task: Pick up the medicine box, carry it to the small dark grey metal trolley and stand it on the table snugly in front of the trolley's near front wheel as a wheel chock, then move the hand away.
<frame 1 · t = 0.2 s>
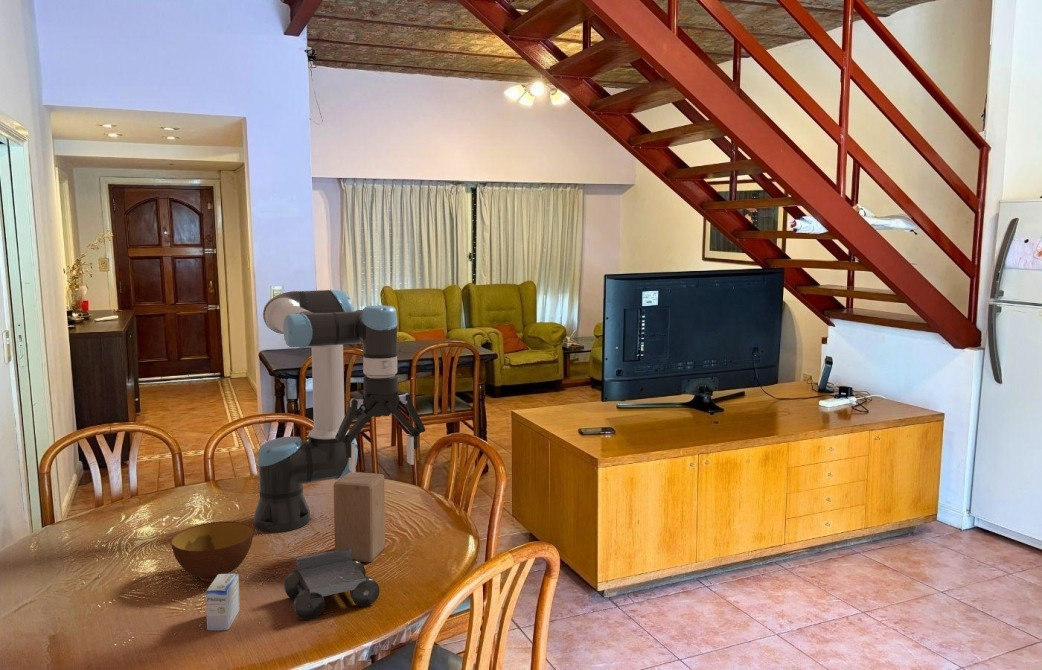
hand: (381, 467, 169), 28 cm above the table, tool pointing down, fingers open, 13 cm apart
bowl: (214, 576, 176), on the table
medicine box: (224, 621, 156), on the table
wooden block: (360, 554, 189), on the table
trolley: (331, 600, 164), on the table
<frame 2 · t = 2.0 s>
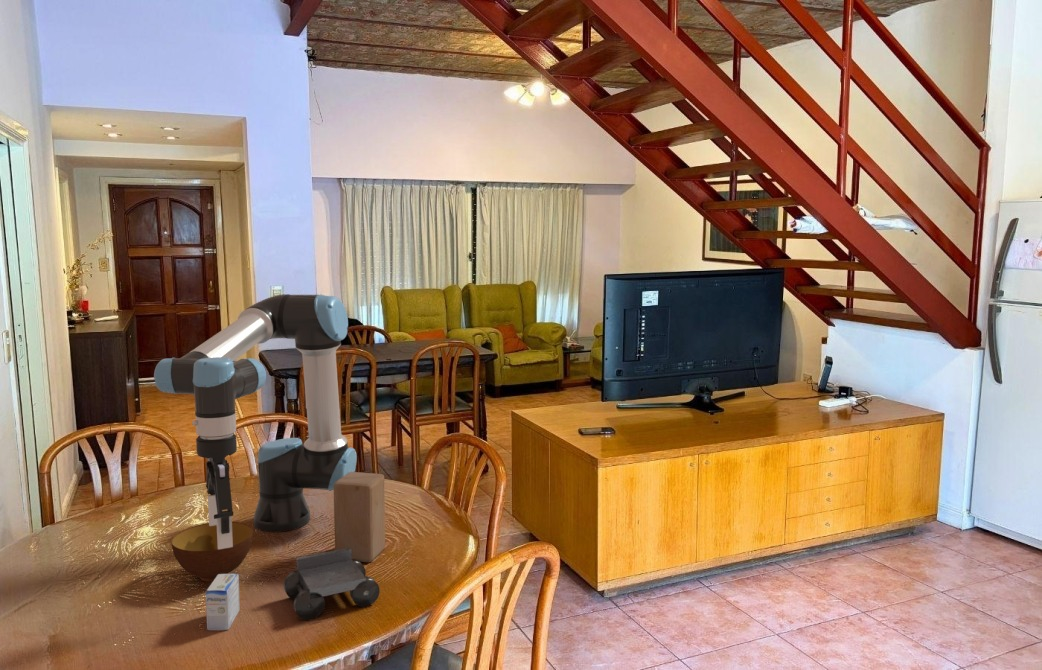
hand: (220, 535, 153), 19 cm above the table, tool pointing down, fingers open, 13 cm apart
nothing on the table moved.
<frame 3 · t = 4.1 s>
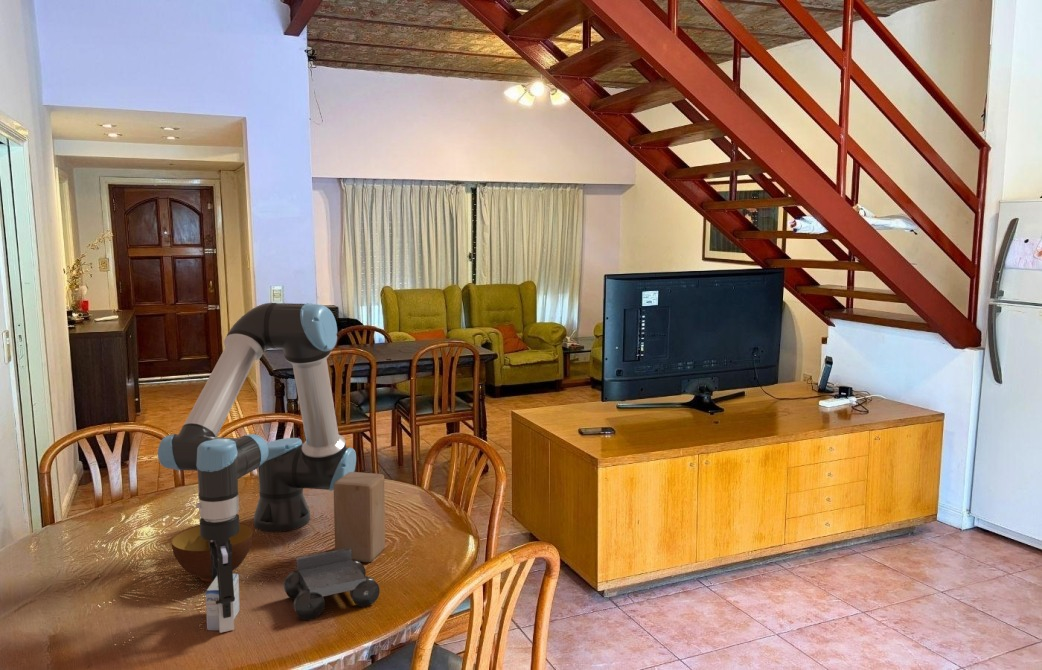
hand: (223, 619, 155), 0 cm above the table, tool pointing down, fingers closed on medicine box, 9 cm apart
medicine box: (224, 621, 156), on the table, touching gripper
everything else where it was.
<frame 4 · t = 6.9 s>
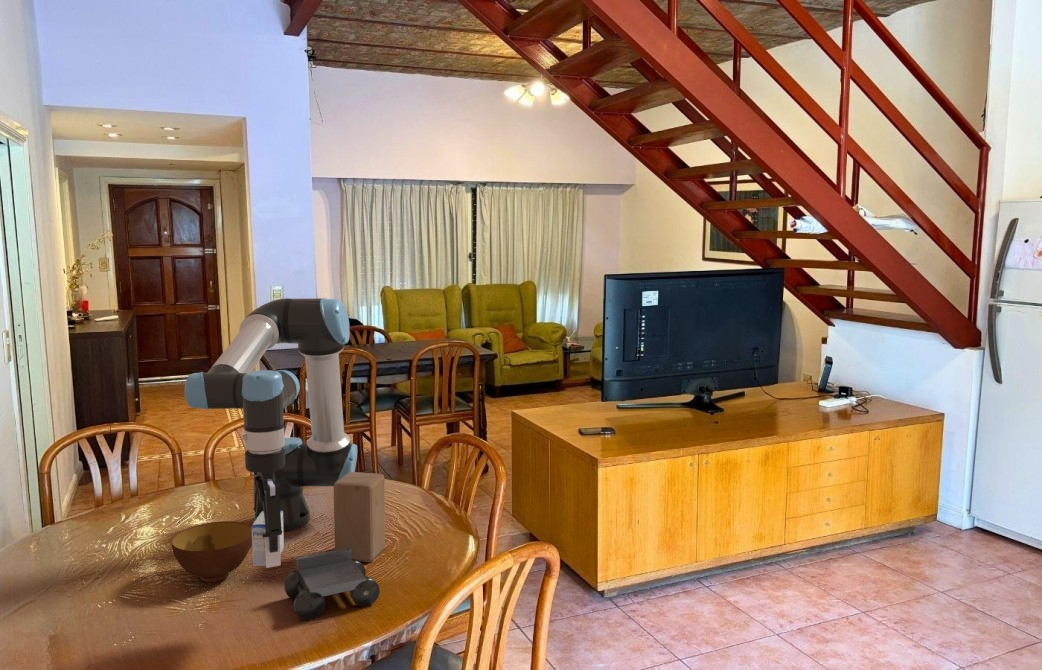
hand: (268, 556, 152), 15 cm above the table, tool pointing down, fingers closed on medicine box, 9 cm apart
medicine box: (269, 558, 152), point 15 cm above the table, touching gripper
everything else where it was.
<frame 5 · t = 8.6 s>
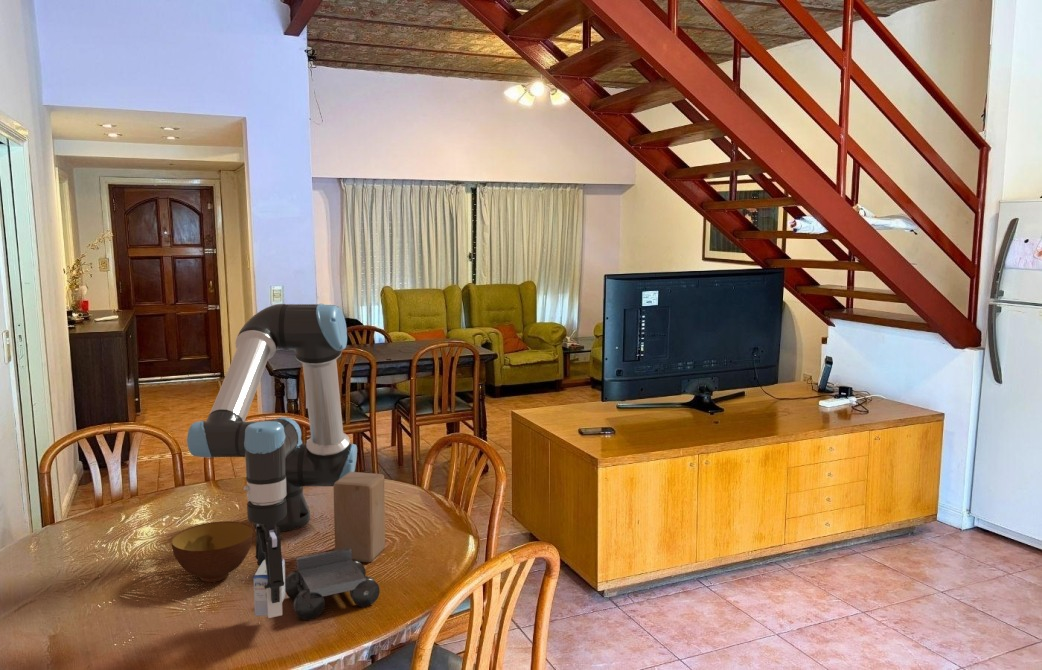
hand: (270, 605, 153), 5 cm above the table, tool pointing down, fingers closed on medicine box, 9 cm apart
medicine box: (270, 607, 153), point 4 cm above the table, touching gripper
everything else where it was.
when the fingers open (1 cm above the table, at t = 9.8 s): medicine box drops 1 cm, on the table.
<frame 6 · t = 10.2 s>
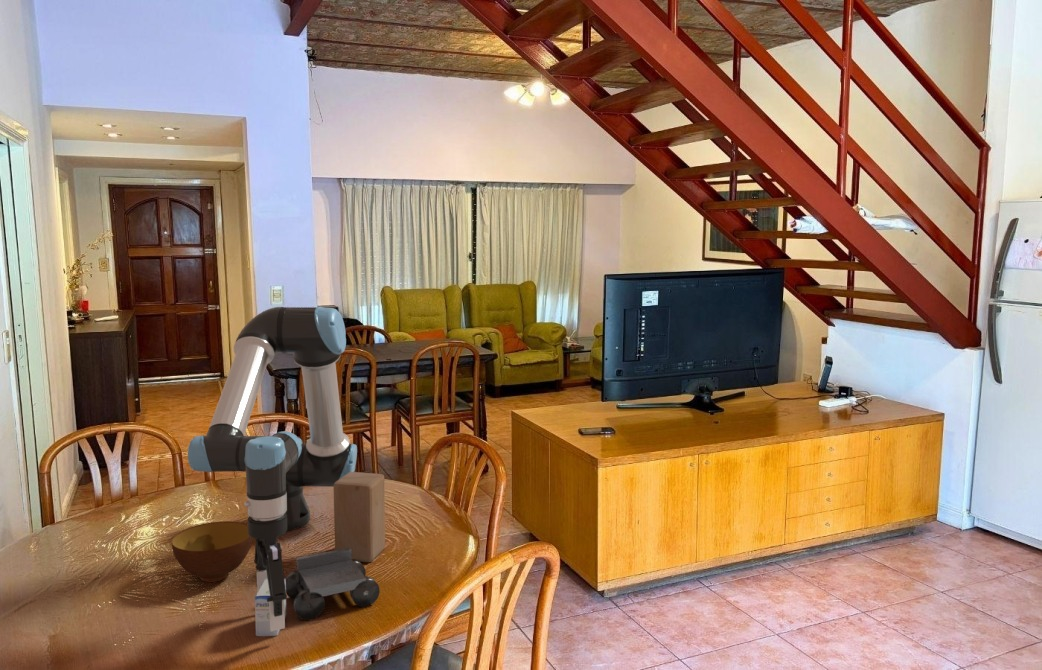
hand: (270, 614, 153), 3 cm above the table, tool pointing down, fingers open, 13 cm apart
medicine box: (271, 627, 154), on the table
everything else where it was.
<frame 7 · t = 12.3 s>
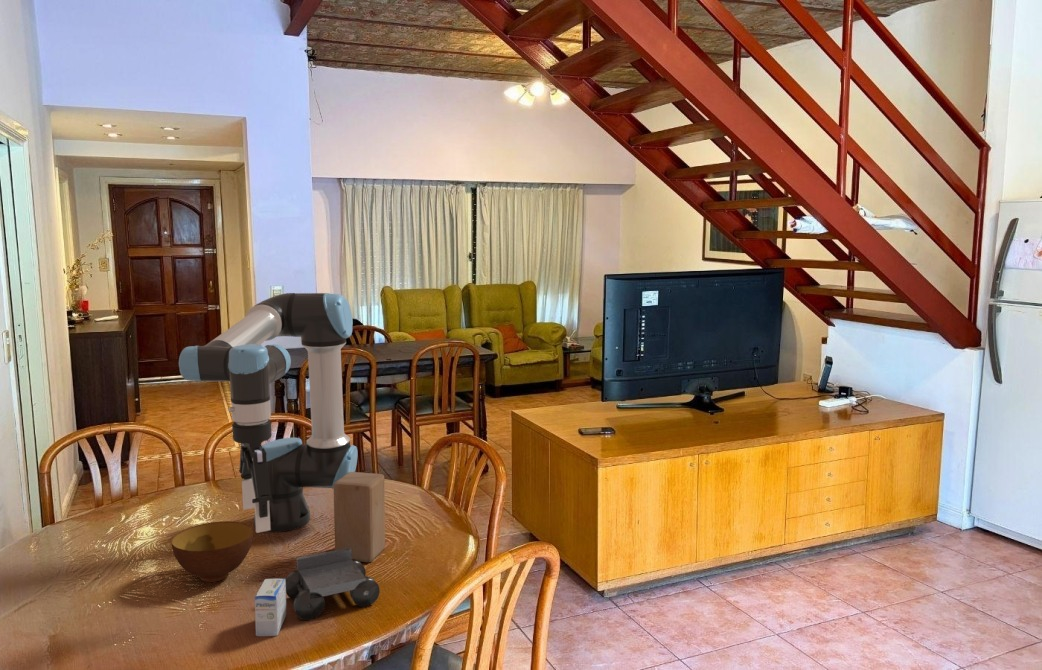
hand: (256, 519, 156), 21 cm above the table, tool pointing down, fingers open, 13 cm apart
nothing on the table moved.
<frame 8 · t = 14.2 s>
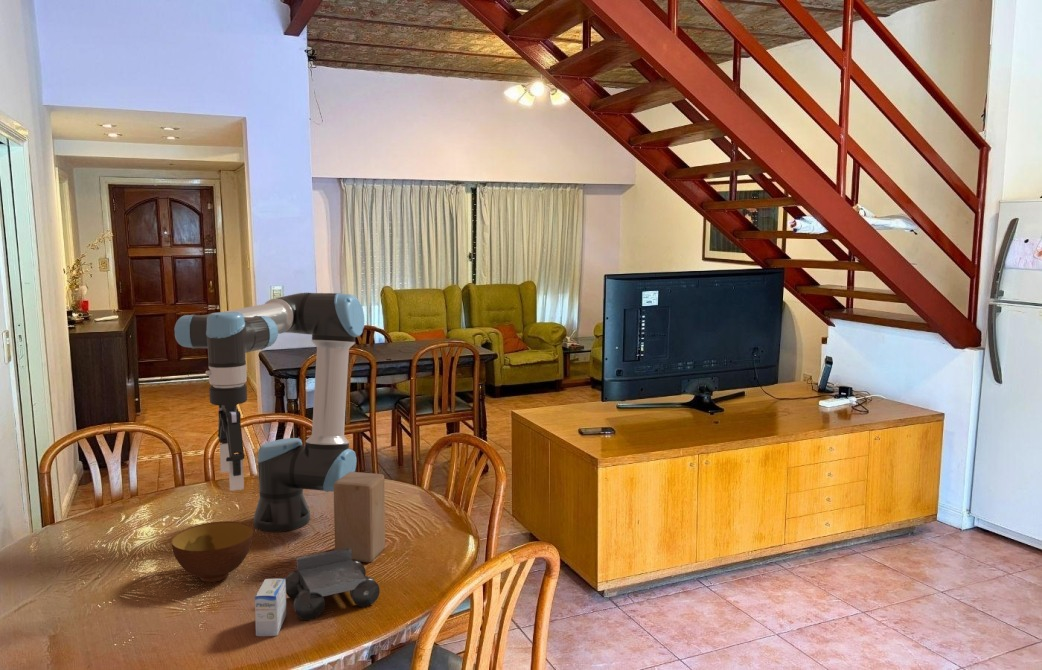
hand: (232, 480, 163), 27 cm above the table, tool pointing down, fingers open, 13 cm apart
nothing on the table moved.
at the end: medicine box inside the target area on the table beside the trolley (0.6 cm from its centre), on the table; medicine box tilted 0°; the gripper is holding nothing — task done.
